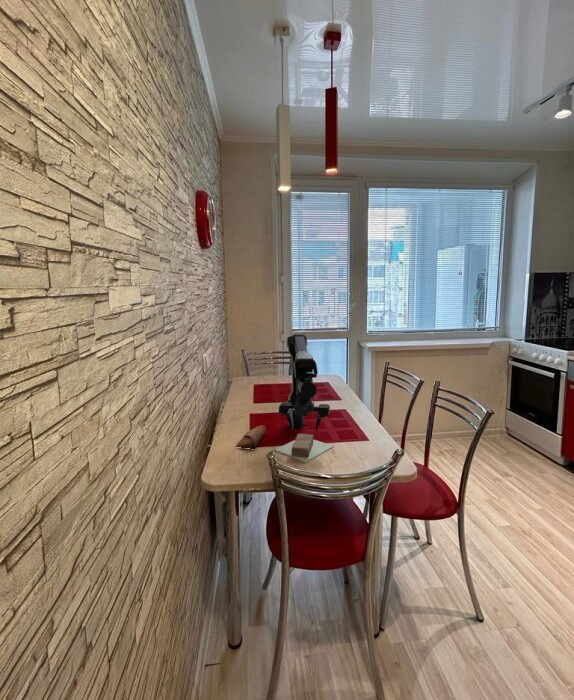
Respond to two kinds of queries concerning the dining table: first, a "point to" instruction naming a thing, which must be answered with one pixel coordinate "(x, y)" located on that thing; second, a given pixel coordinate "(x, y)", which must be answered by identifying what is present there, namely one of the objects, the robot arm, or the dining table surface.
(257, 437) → the sunglasses case
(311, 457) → the mat
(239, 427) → the dining table surface
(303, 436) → the brown wooden block
